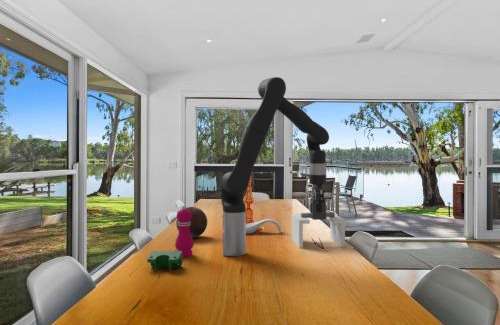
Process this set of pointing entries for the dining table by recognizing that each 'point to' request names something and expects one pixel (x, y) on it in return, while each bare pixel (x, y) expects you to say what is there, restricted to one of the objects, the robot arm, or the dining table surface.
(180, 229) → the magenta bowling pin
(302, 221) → the white channel bracket
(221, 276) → the dining table surface
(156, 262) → the clamp
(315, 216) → the gray u-channel post
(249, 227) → the white curved piece
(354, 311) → the dining table surface
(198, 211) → the wooden sphere
